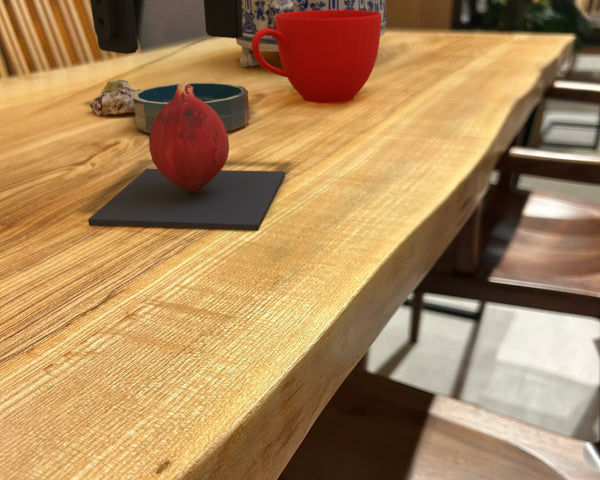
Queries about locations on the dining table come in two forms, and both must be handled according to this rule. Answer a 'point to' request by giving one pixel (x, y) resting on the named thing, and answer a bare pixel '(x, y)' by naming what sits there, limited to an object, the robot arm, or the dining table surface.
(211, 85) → the teal bowl
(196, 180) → the onion
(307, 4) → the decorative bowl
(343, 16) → the ceramic cup
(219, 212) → the mat
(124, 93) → the mineral rock
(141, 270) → the dining table surface
